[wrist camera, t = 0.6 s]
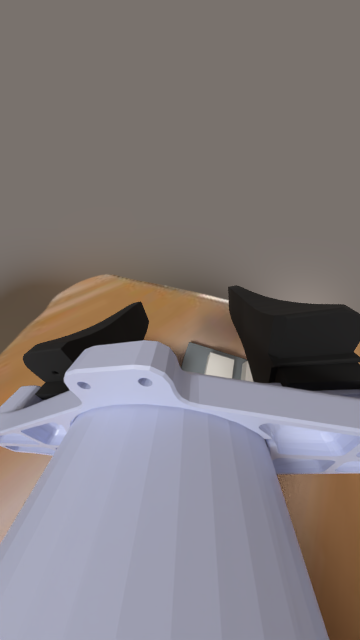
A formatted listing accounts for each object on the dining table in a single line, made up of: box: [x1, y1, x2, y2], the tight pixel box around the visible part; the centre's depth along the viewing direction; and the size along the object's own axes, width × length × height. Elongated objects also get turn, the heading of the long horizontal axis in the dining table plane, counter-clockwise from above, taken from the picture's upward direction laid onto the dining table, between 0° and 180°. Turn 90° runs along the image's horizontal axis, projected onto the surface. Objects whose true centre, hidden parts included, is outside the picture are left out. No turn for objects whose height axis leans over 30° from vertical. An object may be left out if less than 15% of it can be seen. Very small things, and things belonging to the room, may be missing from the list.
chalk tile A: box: [241, 361, 253, 382], centre depth 23 cm, size 4×4×2 cm
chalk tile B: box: [204, 352, 234, 378], centre depth 24 cm, size 4×4×2 cm
